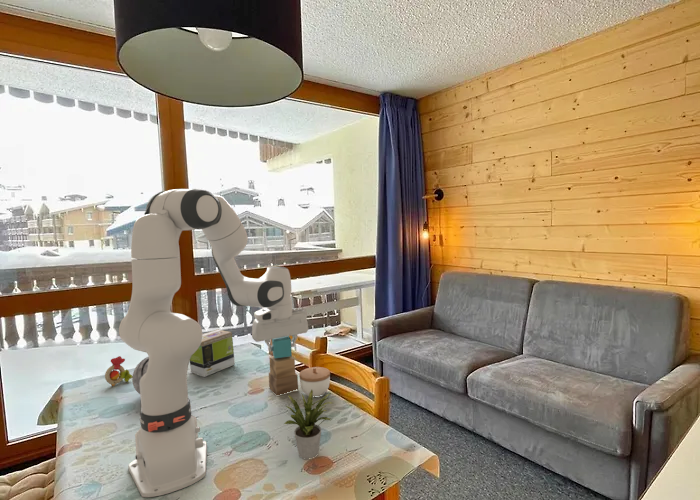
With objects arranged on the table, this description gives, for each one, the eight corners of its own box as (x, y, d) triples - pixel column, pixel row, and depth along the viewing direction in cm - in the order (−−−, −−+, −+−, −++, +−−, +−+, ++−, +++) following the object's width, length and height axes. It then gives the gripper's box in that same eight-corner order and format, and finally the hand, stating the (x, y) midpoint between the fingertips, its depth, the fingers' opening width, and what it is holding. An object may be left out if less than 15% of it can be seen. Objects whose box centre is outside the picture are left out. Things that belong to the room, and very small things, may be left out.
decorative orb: (146, 409, 130) (142, 365, 129) (126, 398, 139) (122, 357, 137) (187, 392, 142) (184, 352, 140) (167, 383, 150) (164, 345, 149)
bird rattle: (119, 392, 149) (138, 374, 156) (105, 370, 144) (125, 353, 152) (108, 389, 152) (128, 372, 159) (94, 368, 147) (115, 352, 154)
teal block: (291, 356, 139) (290, 339, 138) (274, 358, 137) (273, 341, 137) (289, 350, 145) (288, 335, 144) (272, 353, 143) (271, 337, 142)
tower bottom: (298, 390, 140) (297, 374, 140) (277, 396, 136) (276, 380, 136) (289, 383, 147) (289, 367, 147) (269, 388, 143) (268, 372, 143)
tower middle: (295, 374, 140) (294, 358, 140) (276, 379, 137) (275, 362, 136) (288, 368, 146) (287, 352, 146) (270, 372, 143) (269, 356, 142)
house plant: (344, 466, 97) (342, 402, 95) (288, 478, 93) (285, 412, 91) (331, 435, 110) (328, 380, 109) (281, 445, 106) (278, 387, 105)
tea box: (220, 361, 173) (218, 328, 172) (235, 365, 167) (233, 331, 166) (189, 372, 161) (187, 337, 160) (204, 377, 155) (201, 341, 154)
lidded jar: (314, 404, 130) (313, 376, 129) (293, 395, 137) (292, 369, 136) (337, 392, 138) (336, 367, 137) (316, 384, 145) (315, 360, 144)
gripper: (303, 305, 147) (304, 341, 148) (249, 313, 137) (251, 351, 138) (310, 308, 142) (311, 345, 143) (254, 317, 132) (256, 357, 133)
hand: (281, 348), depth 141 cm, fingers closed on teal block, 6 cm apart
